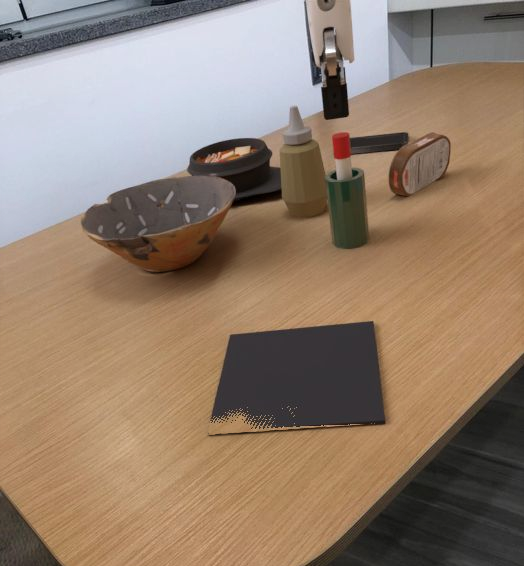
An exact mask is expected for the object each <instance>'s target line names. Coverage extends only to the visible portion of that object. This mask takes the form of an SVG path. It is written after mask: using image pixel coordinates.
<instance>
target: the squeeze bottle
mask: <svg viewBox="0 0 524 566" xmlns="http://www.w3.org/2000/svg"><path fill="white" fill-rule="evenodd" d="M288 116H289V118H288V128H287V129H285V130H283V132H282V138H283V143H284V144H282V146H281V147H280V148H279V166H280V168H281V185H282V188H281V198H282V200H283V201H284V204H285V206H286V208H287V210H288V212H289V213H290V215H291V216H292V217H293V218H298V219H305V218H306V219H307V218H308V219H309V218H314V217H316V216H319V215H321V214H323V213H324V212H325V210H326V206H327V203H328V201H327V192H326V183H325V175H326V174H327V173H326V171H325V166H324V161H323V157H322V156H323V155H322V152H321V148H320V143H319V142H318V140H316V139H313V133H312V128H311V127H310V126H308V125H305V124H304V122H303V119H302V116H301V113H300V110H299V108H298V105H291V106H290V107H289V115H288Z"/></svg>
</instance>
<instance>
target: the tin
mask: <svg viewBox="0 0 524 566" xmlns="http://www.w3.org/2000/svg"><path fill="white" fill-rule="evenodd" d="M451 146H452V144H451V141H450V138H449V137H448V136H447V135H444V134H440V133H436V132H429V133H426V134H424V135H422V136H421V137H418V138H416V139H415V140H412V141H411V142H408V144H407V145H405V146H403V147H401V148H400V149H398V150H397V151H396V153H395V154H394V155H393V158H392V160H391V163H390V165H389V170H388V186H389V190H390V191H391V192H392V193H393V194H394V195H397V196H403V197H410V196H412V195H414V194H415V193H417V192H419V191H420V190H422V189H423V188H426V187H427V186H429V185H430V184H432V183H435V182H437V181H440V180H441V179H442V178H443V177H444V175H445V174H446V172H447V170H448V168H449V165H450V160H451V159H450V158H451V148H452V147H451Z"/></svg>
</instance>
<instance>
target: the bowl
mask: <svg viewBox="0 0 524 566" xmlns="http://www.w3.org/2000/svg"><path fill="white" fill-rule="evenodd" d="M235 195H236V190H235V186H234V185H233V184H232V183H230V182H229V181H227V180H225V179H223V178H219V177H215V176H192V175H186V176H185V175H184V176H178V177H177V176H173V177H165V178H159V179H154V180H150V181H146V182H143V183H141V184H138V185H134V186H130V187H126V188H123V189H120V190H117V191H115V192H113V193H111V194H109V195H108V196H107V198H106V201H107V202H103V203H94V204H93V205H91V206H90V207H88V208H87V210H86V211H85V213H84V214H83V215H82V216H81V217H80V218H79V228H80V230H81V231H82V232H83V234H85V235H86V236H87V237H88V238H89V240H91V241H93V242H95V243H96V244H98V245H100V246H101V247H103V248H106V249H107V250H108V251H109V252H112V253H114V254H116V255H118V256H119V257H121V258H123V259H124V260H125V261H127V262H129V263H131V264H133V265H135V266H137V267H139V268H140V269H141V270H145V271H148V272H153V273H163V272H168V271H175V270H179V269H182V268H184V267H187V266H188V265H191V264H193V262H195V261H196V260H198V259H199V258H200V256H201V255H203V253H204V252H205V251H206V250H207V249H208V247H209V246H210V244H211V243H212V241H213V240H214V238H215V236H216V234H217V232H218V230H219V229H220V227H221V225H222V223H223V222H224V220H225V218H226V216H227V214H228V212H229V211H230V208H231V207H232V204H233V203H234V198H235Z"/></svg>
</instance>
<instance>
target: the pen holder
mask: <svg viewBox="0 0 524 566" xmlns="http://www.w3.org/2000/svg"><path fill="white" fill-rule="evenodd" d="M325 174H326V175H325V183H326V192H327V208H328V217H329V218H328V219H329V227H330V234H331V242H332V246H334V247H335V248H338V249H340V250H341V249H342V250H353V249H357V248H361V247H363V246H364V245H366V244H368V243H369V241H370V230H369V215H368V205H367V204H368V203H367V194H366V193H367V191H366V180H365V179H366V176H365V170H363V169H362V168H359V167H352V178H350V179H344V180H337V173H336V169H334V170H331V171H329V172H328V173H325Z"/></svg>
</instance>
